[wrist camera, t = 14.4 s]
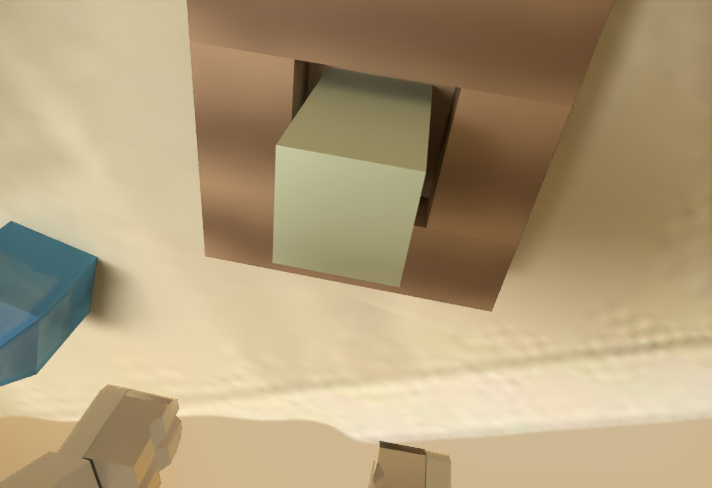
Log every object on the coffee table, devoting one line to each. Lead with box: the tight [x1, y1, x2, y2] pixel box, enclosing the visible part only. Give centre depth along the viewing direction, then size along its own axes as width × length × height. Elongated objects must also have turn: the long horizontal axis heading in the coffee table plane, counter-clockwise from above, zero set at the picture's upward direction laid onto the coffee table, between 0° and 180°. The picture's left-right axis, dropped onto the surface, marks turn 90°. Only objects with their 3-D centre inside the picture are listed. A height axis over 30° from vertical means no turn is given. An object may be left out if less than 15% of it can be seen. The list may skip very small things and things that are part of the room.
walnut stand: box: [187, 0, 614, 312], centre depth 24 cm, size 16×16×4 cm
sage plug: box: [272, 67, 433, 287], centre depth 21 cm, size 5×5×9 cm
